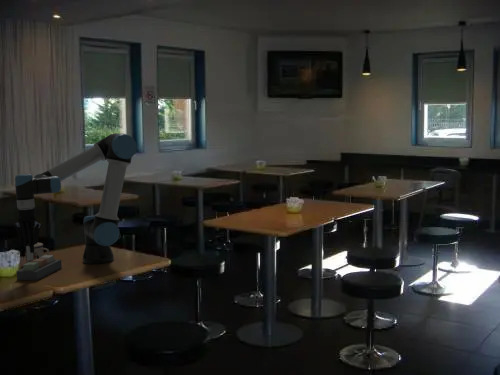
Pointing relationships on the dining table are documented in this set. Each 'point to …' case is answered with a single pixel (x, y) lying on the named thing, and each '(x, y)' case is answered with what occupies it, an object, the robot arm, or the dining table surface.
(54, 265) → the button panel
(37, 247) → the teacup with lid
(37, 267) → the green button
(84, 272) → the dining table surface
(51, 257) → the white button
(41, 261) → the terracotta button
